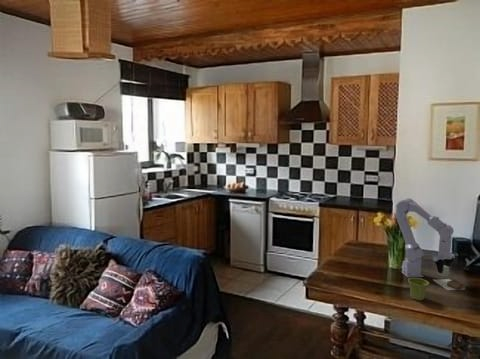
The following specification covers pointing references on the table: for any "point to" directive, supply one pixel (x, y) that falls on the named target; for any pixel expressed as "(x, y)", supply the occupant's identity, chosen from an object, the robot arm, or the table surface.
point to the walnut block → (456, 284)
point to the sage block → (444, 271)
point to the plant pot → (418, 288)
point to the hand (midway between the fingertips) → (442, 272)
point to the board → (445, 284)
